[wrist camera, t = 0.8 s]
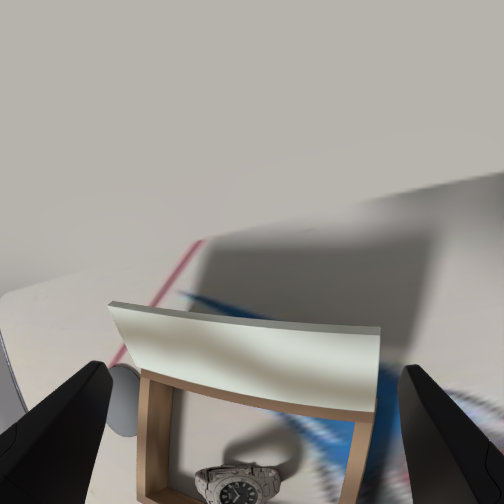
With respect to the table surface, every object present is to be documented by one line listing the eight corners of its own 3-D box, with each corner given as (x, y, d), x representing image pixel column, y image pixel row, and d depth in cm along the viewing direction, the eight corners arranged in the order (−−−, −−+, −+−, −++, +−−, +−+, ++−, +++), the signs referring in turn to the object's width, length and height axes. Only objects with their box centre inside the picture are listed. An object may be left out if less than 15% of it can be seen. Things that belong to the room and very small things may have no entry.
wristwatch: (288, 494, 19) (260, 524, 14) (215, 487, 21) (178, 508, 17) (284, 454, 20) (255, 478, 15) (210, 450, 22) (171, 467, 18)
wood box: (342, 548, 15) (316, 604, 9) (158, 491, 23) (101, 513, 16) (385, 329, 19) (380, 326, 13) (171, 311, 27) (107, 299, 20)
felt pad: (147, 446, 24) (144, 447, 24) (100, 422, 27) (97, 422, 27) (151, 376, 26) (148, 376, 26) (103, 359, 29) (100, 359, 29)
